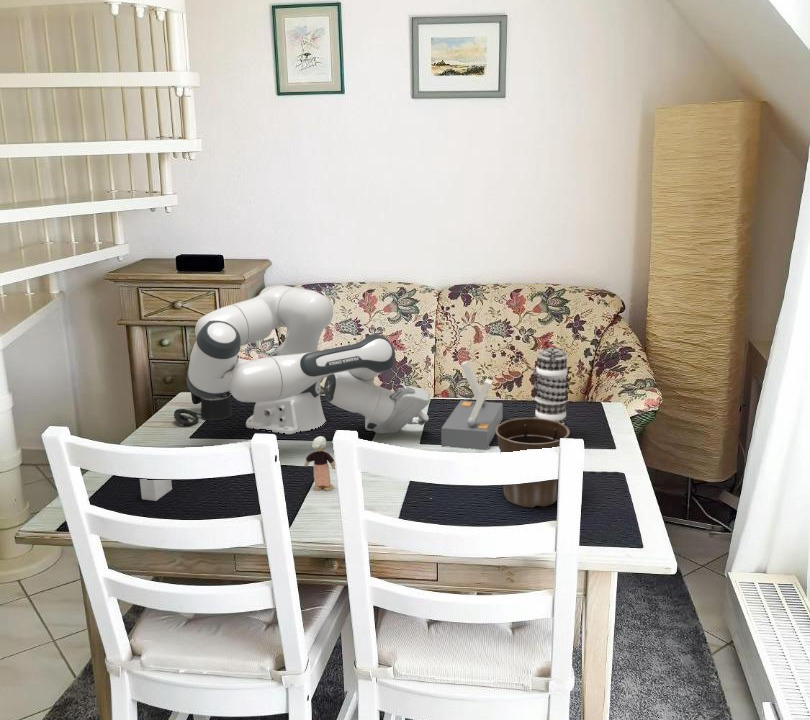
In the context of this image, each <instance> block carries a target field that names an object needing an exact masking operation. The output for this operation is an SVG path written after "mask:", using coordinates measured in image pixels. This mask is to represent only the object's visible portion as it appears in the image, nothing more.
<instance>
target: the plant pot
mask: <svg viewBox="0 0 810 720" xmlns="http://www.w3.org/2000/svg"><path fill="white" fill-rule="evenodd" d="M570 432H571V431H570V429H569V427H568V426H565V425H563V424H561V423H559V422H556V421H552V420H548V419H541V418H534V417H520V418H513V419H508V420H505V421H502V422H501V424H499V425H498V426H497V427H496V429H495V435H496V436H497V443H498V448H499V451H500V453H501V452H513V451H520V450H527V449H542V448H552V447H557V446H559V439H560V438H567V439H568V438H569V436H570ZM503 496H504V497H505V499H506V501H508V502H509V503H510V504H514V505H515V506H519V507H524V508H532V509H533V508H536V506H539V507H541V508H544V507H548V506H551V505H553V504H555V503H556V502H557V501H558V499H557V480H551V481H545V482H537V483H527V484H518V485H506V486H503Z"/></svg>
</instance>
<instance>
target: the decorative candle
mask: <svg viewBox="0 0 810 720" xmlns="http://www.w3.org/2000/svg"><path fill="white" fill-rule="evenodd" d="M569 357H570V356H569V355H568V354H567V353H566V352H565V350H564V349H563V348H562V349H561V348H558V347H545V348H543V349H540V352H539V353H537V354H536V363H537V364H536V366H535V367H536V368H535V369H534V370H533V374H534V375H533V380H534V382H535V383H534V384H533V387H534V389H533V392H534V395H535V396H534V401H535V403H536V405H535V407H536V408H535V415H533V418H541V419H548V420H552V421H556V422H559V423H561V424H563V425H565V426H566V427H568V424H567V421H568V418H567V410H566V403H567V402H568V400H569V398H568V395H569V391H568V390H566V389H568V388H569V387H570V384H569V381H571V380H570V378H569V377H567V375H568V374H569V373H570V370H569V369H568V365H567V364H568V361H567V359H568V358H569Z"/></svg>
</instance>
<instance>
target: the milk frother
mask: <svg viewBox="0 0 810 720" xmlns="http://www.w3.org/2000/svg"><path fill="white" fill-rule="evenodd" d="M229 393H231V392H229ZM190 396H191V403H192V404H194V405H198V404H200V407H201V408H200V413H199V412H198V413H197V412H196V411H193V410H191V409H190V410H189V409H186V408H178V409H175V410H174V412H173V418H174V419H175V421H176V422H178V423H180V424H181V425H184V426H186V425H187V426H189V425H190V426H191V425H195V424H197V423H199V419H200V418H201V419H202V420H206V421H223V420H227V419H229V418H232V416H233V415H234V414H233V409H232V401H231V400H232V399H231V395H230V396H228V397H226V398H217V399H205V398H201V397H198V396H196V395H194V394H193V393H192V392H191V391H190ZM225 396H226V395H225ZM199 416H200V418H199ZM191 417H192V418H193V419H192V420H191Z"/></svg>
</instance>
